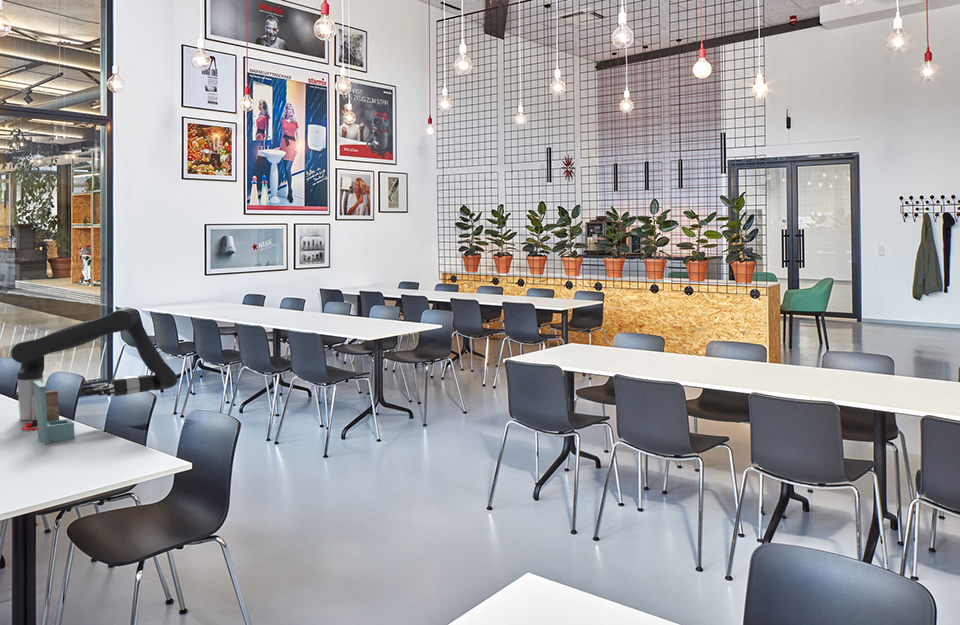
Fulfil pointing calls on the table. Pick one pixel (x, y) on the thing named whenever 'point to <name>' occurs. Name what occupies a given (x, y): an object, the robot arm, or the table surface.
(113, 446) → the table surface
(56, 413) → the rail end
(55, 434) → the teal holder stand
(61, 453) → the table surface
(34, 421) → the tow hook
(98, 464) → the table surface
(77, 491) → the table surface
